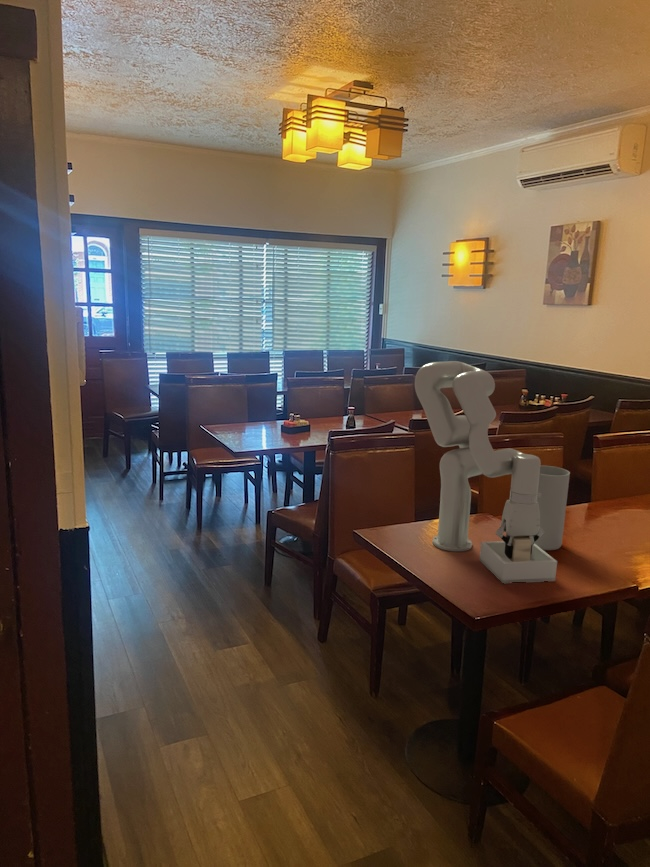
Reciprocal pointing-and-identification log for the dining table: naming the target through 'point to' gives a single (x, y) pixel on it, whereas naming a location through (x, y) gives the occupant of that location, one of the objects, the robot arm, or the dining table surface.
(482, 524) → the dining table surface
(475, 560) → the dining table surface
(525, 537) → the birch block
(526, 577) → the bin
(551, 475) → the cylinder vase
